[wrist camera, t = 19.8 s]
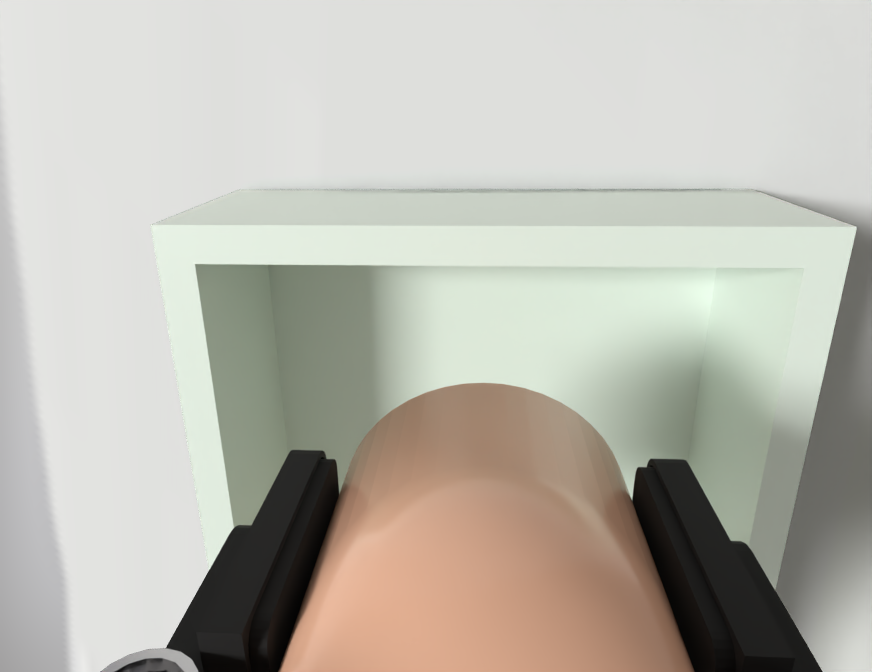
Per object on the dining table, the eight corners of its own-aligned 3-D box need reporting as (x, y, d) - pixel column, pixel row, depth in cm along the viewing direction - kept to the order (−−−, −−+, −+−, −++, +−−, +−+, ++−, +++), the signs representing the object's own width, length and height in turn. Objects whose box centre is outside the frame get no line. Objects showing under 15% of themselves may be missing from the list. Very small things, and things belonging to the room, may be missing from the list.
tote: (670, 690, 23) (718, 843, 18) (295, 671, 24) (250, 813, 19) (751, 189, 17) (857, 227, 12) (238, 189, 17) (150, 225, 13)
